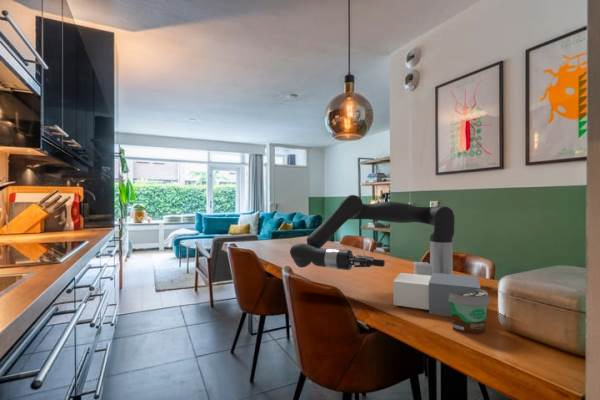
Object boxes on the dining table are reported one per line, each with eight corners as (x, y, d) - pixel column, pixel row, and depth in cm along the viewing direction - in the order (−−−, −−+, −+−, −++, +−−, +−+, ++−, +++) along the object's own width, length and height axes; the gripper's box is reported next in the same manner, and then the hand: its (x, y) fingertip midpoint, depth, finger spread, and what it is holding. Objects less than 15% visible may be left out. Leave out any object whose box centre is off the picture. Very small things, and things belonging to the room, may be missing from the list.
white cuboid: (393, 304, 102) (393, 281, 102) (400, 293, 114) (400, 272, 114) (479, 316, 90) (479, 290, 90) (477, 303, 103) (476, 279, 103)
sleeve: (429, 313, 96) (428, 282, 96) (432, 299, 110) (432, 272, 110) (481, 321, 89) (480, 288, 89) (477, 305, 103) (477, 276, 104)
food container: (469, 339, 77) (468, 299, 77) (448, 330, 83) (448, 293, 83) (501, 331, 82) (500, 293, 82) (479, 323, 88) (479, 288, 88)
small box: (432, 293, 118) (432, 265, 118) (417, 292, 119) (416, 265, 119) (428, 287, 126) (427, 262, 126) (413, 287, 127) (413, 261, 127)
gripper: (332, 251, 112) (380, 255, 104) (344, 247, 124) (388, 250, 116) (332, 272, 112) (380, 277, 104) (344, 266, 124) (388, 270, 116)
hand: (384, 263), depth 110 cm, fingers closed
